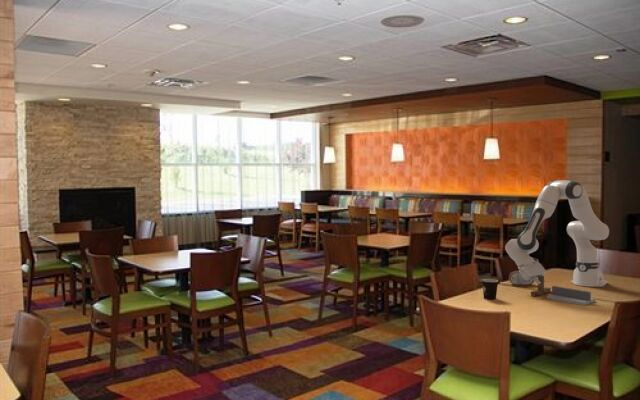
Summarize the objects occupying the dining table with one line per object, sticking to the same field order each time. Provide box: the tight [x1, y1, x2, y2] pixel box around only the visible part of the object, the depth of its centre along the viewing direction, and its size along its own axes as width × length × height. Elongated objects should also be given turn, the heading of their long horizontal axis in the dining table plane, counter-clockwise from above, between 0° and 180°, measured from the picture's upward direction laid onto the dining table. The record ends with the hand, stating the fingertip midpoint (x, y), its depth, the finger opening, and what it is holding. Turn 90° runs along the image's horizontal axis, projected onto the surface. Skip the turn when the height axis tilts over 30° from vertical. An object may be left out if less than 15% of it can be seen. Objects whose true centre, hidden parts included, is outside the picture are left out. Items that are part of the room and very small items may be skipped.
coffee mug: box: [481, 278, 499, 301], centre depth 294 cm, size 12×9×10 cm
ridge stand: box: [546, 285, 596, 306], centre depth 288 cm, size 13×20×6 cm, turn 40°
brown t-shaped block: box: [530, 275, 552, 297], centre depth 303 cm, size 18×2×10 cm, turn 130°
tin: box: [508, 270, 535, 286], centre depth 328 cm, size 15×3×8 cm, turn 84°
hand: (542, 283), depth 302 cm, fingers closed on brown t-shaped block, 2 cm apart
